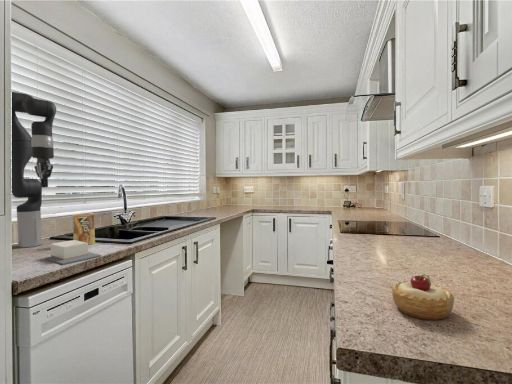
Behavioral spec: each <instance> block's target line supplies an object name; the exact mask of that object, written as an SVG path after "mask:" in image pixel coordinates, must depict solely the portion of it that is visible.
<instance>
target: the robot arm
mask: <svg viewBox="0 0 512 384" xmlns="http://www.w3.org/2000/svg"><path fill="white" fill-rule="evenodd" d="M11 92H12V191H11V194H12V196H13V197H14V198H17V199H21V198H22V199H24V198H25V199H26V198H27V200H26V201H25V202H23V203H21V204H19V205H17V206H16V222H17V223H16V224H17V242H18V243H17V246H18V248H30V247H31V248H32V247H37V246H41V245H43V238H42V237H43V234H42V231H43V230H42V215H41V214H42V213H41V212H42V211H41V210H42V209H41V207H42V203H43V200H42V197H43V188H48V187H49V180H48V179H49V178H51V176H52V172H53V169H54V165H53V164H51V160H50V159H54V156H55V154H54V153H55V152H54V150H55V148H54V139H53V124H54V120H55V116H56V113H57V106H56V105H55V103H54V102H52V101H50V100H45V99H38V98H34V97H33V96H31V95H30V94H27V93H22V92H16V91H11ZM16 113H22V114H23V113H25V114H28V115H30V116H34V117H43V118H44V120H40V121H39V120H38V121H33V122H31V127H30V128H31V134H30V132H29V131H28V130H27V129H26V128H25V127H24V126H23V125H22V123H21V122H20V121H19V118H18V116H17V114H16ZM32 158H33V159H36V163H35V164H36V165H34V167H33V168H34V169H35V173H36V176H37V178H39V179H37V178H25V177H24V175H25V174H24V173H25V169H26V166H27V164H28V163H29V161H30V160H31V159H32Z"/></svg>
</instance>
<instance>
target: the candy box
mask: <svg viewBox="0 0 512 384" xmlns="http://www.w3.org/2000/svg"><path fill="white" fill-rule="evenodd" d="M95 233H96V232H95V213H92V212H91V213H79V214H77V213H76V214H72V234H73V235H72V237H73V238H72V239H73V240H77V241H81V242H86V243H88V246H89V245H95V244H96V236H95V235H96V234H95Z"/></svg>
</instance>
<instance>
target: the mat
mask: <svg viewBox="0 0 512 384" xmlns="http://www.w3.org/2000/svg"><path fill="white" fill-rule="evenodd" d="M100 257H102V254H99V253H95V252H90V251H88V255H85V256H80V257H76V258H71V259H66V260H63V259H59V258H56V257H53V256H51V255H50V256H47V257H45V258H44V259H45V260H46V261H50V262H53V263H57V264H58V265H59V264H60V265H62V266H65V265H69V264H73V263H80V262H82V261H87V260H91V259H96V258H100Z"/></svg>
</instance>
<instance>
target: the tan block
mask: <svg viewBox="0 0 512 384" xmlns="http://www.w3.org/2000/svg"><path fill="white" fill-rule="evenodd" d="M49 245H50V257H51V256H53V257H56V258H59V259H63V260H66V259H71V258H76V257H80V256H85V255H88V252H89V245H88V243H86V242H81V241H77V240H67V241H60V242H59V241H58V242H53V243H50V244H49Z"/></svg>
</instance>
